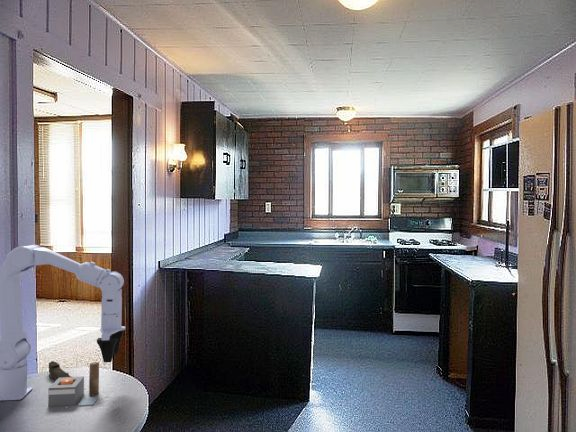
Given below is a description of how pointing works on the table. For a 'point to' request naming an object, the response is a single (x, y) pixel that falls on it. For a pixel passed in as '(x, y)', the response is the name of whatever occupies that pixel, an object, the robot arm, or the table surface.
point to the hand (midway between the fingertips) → (110, 357)
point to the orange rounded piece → (67, 381)
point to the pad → (88, 401)
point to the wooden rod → (94, 378)
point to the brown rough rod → (56, 371)
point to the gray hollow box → (65, 392)
